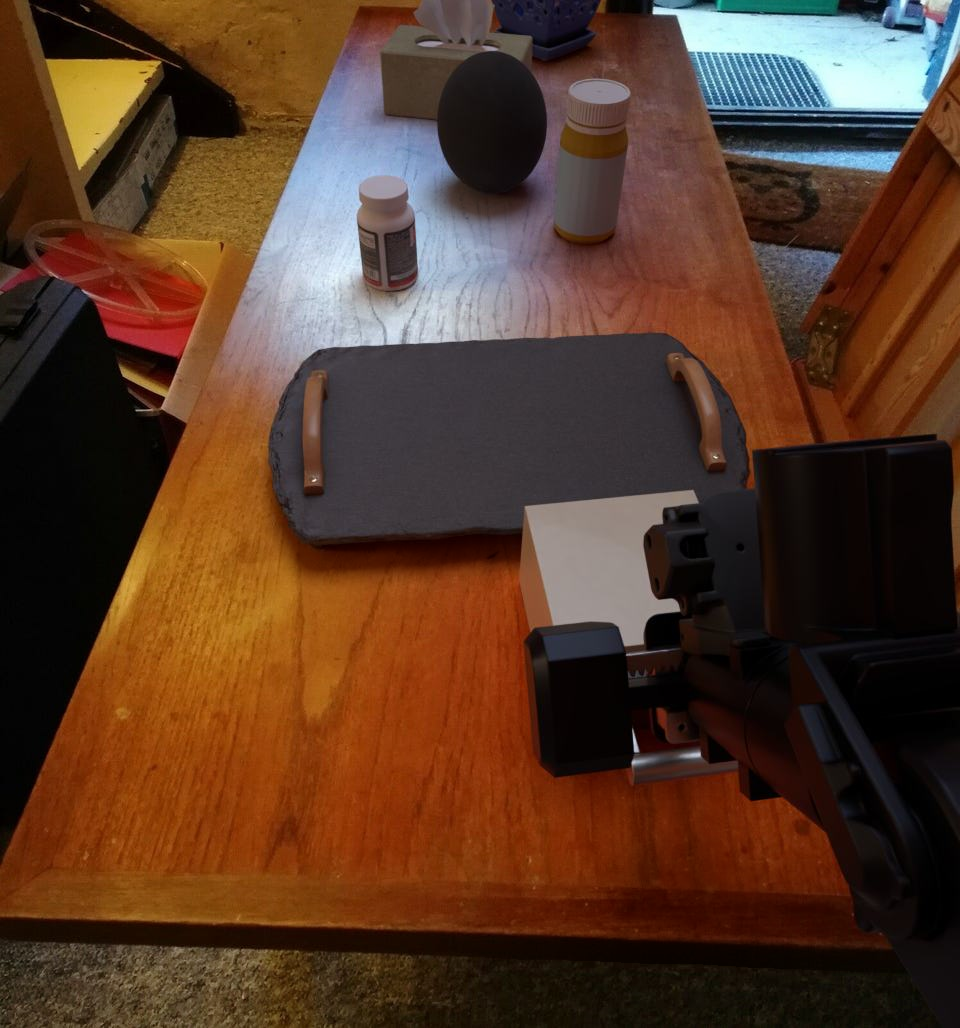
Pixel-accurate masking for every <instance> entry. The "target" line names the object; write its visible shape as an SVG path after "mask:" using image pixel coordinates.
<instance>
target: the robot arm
mask: <svg viewBox="0 0 960 1028" xmlns="http://www.w3.org/2000/svg"><path fill="white" fill-rule="evenodd" d="M751 456H752V469H753V470H752V471H753V485H754V487H753V488H746V489H741V490H731V491H721V492H715V493H712V494H709V495H708V496H706V497H705V498H704V499H703V500H702V501H701V502H700V503H696V504H686V505H680V506H673V507H665V508H664V509H663V512H662V520H663V524H657V525H652V526H651V527H650V528H649V530H648V531H647V532H646V533H645V534H644V540H643V547H644V553H645V558H646V564H647V569H648V575H649V580H650V586H651V590H652V593H653V595H654V596H655V597H656V598H657V599H658V600H663V599H674V600H675V601H677V602H678V604H679V608H680V611H679V612H670V613H661V614H655V615H653V616H651V617H650V618H649V619H648V620H647V622H646V625H645V628H644V633H643V639H644V651H640V652H631V653H626V650H625V647H624V643H623V640H622V637H621V633H620V630H619V627H618V626H617V625H615V624H614V623H612V622H593V621H590V622H581V623H572V624H563V625H554V626H545V627H536V628H534V629H533V630H532V631H531V633H530V632H529V633H528V635H527V636H526V637H525V638H524V640H523V642H522V643H523V653H524V662H525V663H524V666H525V676H526V687H527V700H528V710H529V720H530V721H529V722H530V731H531V732H530V734H531V743H532V744H531V745H532V752H533V755H534V757H535V759H536V761H537V763H538V765H539V766H540V767H541V768H542V769H543V770H545V771H546V772H547V773H548V774H549V775H550V776H551V777H552V778H555V779H557V778H565V777H571V776H572V777H573V776H579V775H589V774H594V773H602V772H611V771H617V770H618V771H619V770H626V768H630V767H631V764H632V761H633V758H634V754H635V753H634V741H633V729H632V717H631V711H633V710H642V709H649V713H650V725H651V732H652V733H653V736H654V737H655V738H656V739H657V740H658V741H660V742H662V743H665V744H666V743H667V744H671V745H679V744H687V743H694V742H695V743H696V742H699V746H700V752H701V757H702V758H703V759H704V760H706V761H707V762H708V763H709V764H714V763H722V762H729V761H737V760H738V772H737V773H738V784H739V785H738V786H739V792H740V793H741V794H742V795H743V796H744V798H746V799H747V800H748V801H750V802H757V801H766V800H772V799H778V798H779V799H780V798H783V799H784V800H785V801H786V802H788V804H790V805H791V806H792V807H794V808H795V809H796V810H798V811H799V812H800V813H801V814H802V815H803V816H805V817H806V818H807V819H808V820H809V821H811V822H812V823H813V824H814V825H816V826H817V827H818V828H819V829H820V830H822V831H823V832H824V833H825V834H826V836H827V840H828V841H829V844H830V847H831V849H832V852H833V854H834V857H835V860H836V863H837V864H838V867H839V870H840V872H841V875H842V877H843V878H844V880H845V882H846V884H847V885H848V889H849V894H850V897H851V899H852V907H853V908H852V909H853V910H852V911H853V918H854V921H855V923H856V926H857V927H858V929H859V930H860V931H861V932H862V933H865V934H873V933H881V934H882V935H883V936H885V938H886V940H887V941H888V944H889V945H890V946H891V948H892V949H893V951H894V953H895V954H896V956H897V957H898V959H899V961H900V962H901V964H902V965H903V967H904V969H905V970H906V972H907V974H908V975H909V977H910V978H911V979H912V980H911V981H912V982H913V983H914V985H915V987H917V990H918V991H919V993H920V994H921V996H922V998H923V999H924V1001H925V1003H926V1005H927V1006H928V1008H929V1009H930V1011H931V1012H932V1015H934V1017H935V1019H936V1020H937V1022H938V1023H939V1025H940V1026H941V1028H960V612H959V611H958V607H957V591H956V575H955V573H956V572H955V558H954V557H955V556H954V541H953V525H952V523H953V522H952V521H953V518H952V515H953V514H952V512H953V504H954V494H955V476H954V462H953V461H954V459H953V450H952V447H951V446H950V444H949V442H947V439H938V433H928V434H926V433H925V434H913V435H901V436H890V437H876V438H864V439H853V440H852V439H851V440H840V441H839V440H838V441H829V442H818V443H808V444H797V445H795V444H794V445H786V446H776V447H775V446H774V447H766V448H756V449H751ZM645 669H646V676H643V675H644V672H645ZM636 670H637V671H638V673H639V675H641V677H635V674H636ZM628 671H629V674H630V676H632V677H633V678H628Z"/></svg>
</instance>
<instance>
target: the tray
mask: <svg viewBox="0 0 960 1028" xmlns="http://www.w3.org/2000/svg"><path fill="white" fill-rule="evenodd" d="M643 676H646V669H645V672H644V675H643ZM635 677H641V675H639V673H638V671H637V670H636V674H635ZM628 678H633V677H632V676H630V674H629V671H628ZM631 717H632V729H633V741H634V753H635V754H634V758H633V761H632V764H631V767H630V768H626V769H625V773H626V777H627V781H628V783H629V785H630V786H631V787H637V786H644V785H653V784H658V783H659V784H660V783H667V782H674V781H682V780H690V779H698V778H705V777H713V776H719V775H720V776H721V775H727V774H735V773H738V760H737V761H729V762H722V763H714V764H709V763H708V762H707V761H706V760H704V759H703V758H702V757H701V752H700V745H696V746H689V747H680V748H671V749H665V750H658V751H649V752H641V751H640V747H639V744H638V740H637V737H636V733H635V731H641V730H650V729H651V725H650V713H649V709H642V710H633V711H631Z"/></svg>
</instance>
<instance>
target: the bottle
mask: <svg viewBox="0 0 960 1028" xmlns="http://www.w3.org/2000/svg"><path fill="white" fill-rule="evenodd" d="M631 95H632V94H631V90H630V88H629V87H628V86H626V84H624V83H621V82H619V81H616V80H611V79H607V78H587V79H580V80H578V81H575V82H574V83H572V84H571V85H570V86H569V88H568V91H567V102H566V117H565V124H564V126H563V128H562V130H561V132H560V138H559V147H558V158H557V159H558V160H557V171H556V172H557V173H556V182H555V196H554V208H553V227H554V229H555V230H556V232H557V233H558V234H559V236H560V237H562V238H563V239H565V240H567V241H569V242H571V243H576V244H580V245H593V244H599V243H601V242H603V241H605V240H607V239H608V238H609V237H611V236H612V235H613V234H614V233H615V232H616V228H617V224H618V220H619V219H618V217H619V212H620V205H621V197H622V190H623V183H624V175H625V170H626V163H627V155H628V148H629V136H628V132H627V130H628V129H627V122H628V116H629V110H630V104H631Z"/></svg>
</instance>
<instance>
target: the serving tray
mask: <svg viewBox="0 0 960 1028" xmlns="http://www.w3.org/2000/svg"><path fill="white" fill-rule="evenodd" d="M267 442H268V459H267V463H268V464H269V468H270V471H271V474H272V477H271V478H272V482H271V483H272V490H273V493H274V496H275V500H276V502H277V503H278V504H279V506H280V508H282V509H281V510H282V515H283V516H284V517H285V519H286V520H287V524H288V527H289V528H290V530H291V531H292V533H293V534H294V535H295V536H296V538H298V540H299V541H300V542H301V543H303V544H306V545H309V546H310V547H311V548H313V549H316V550H320V549H323V548H325V547H326V546H327V545H328V546H329V545H340V544H341V545H342V544H354V543H355V544H356V543H361V544H362V543H373V542H375V543H376V542H395V541H414V540H415V541H416V540H418V541H419V540H424V541H433V540H442V539H447V538H454V537H463V536H470V535H477V534H478V535H479V534H481V535H499V536H500V535H501V536H511V535H518V534H519V535H523V522H524V508H525V506H532V505H542V504H552V503H563V502H573V501H584V500H594V499H604V498H615V497H625V496H635V495H646V494H656V493H667V492H677V491H687V490H694V492H695V495H696V497H697V499H698V502H699V503H700V502H701V501H702V500H703V499H704V498H705V497H706V496H708V495H709V494H712V493H715V492H721V491H731V490H741V489H747V484H748V481H749V479H750V475H751V469H750V461H751V459H750V454H749V451H748V447H747V432H746V429H745V426H744V423H743V422H742V420H741V418H740V415H739V413H738V410H737V408H736V406H735V404H734V401H733V399H732V397H731V395H730V394H729V393H728V391H727V390H726V388H725V387H724V386H723V384H722V382H721V381H720V380H719V379H718V378H717V376H716V375H715V374H714V373H713V372H712V371H711V370H710V369H709V368H708V366H707V365H706V364H705V363H704V362H703V361H702V360H701V359H700V358H699V357H698V356H697V355H695V354H694V353H693V352H692V351H690V350H689V349H688V348H687V346H685V344H684V343H683V342H681V341H680V340H679V339H677V338H676V337H674V336H672V335H671V334H668V333H664V332H652V331H651V332H650V331H649V332H640V333H639V332H637V333H627V332H626V333H625V332H624V333H623V332H622V333H610V334H589V335H568V336H567V335H566V336H556V337H519V338H507V339H505V338H504V339H501V338H500V339H499V338H498V339H497V338H496V339H495V338H494V339H483V340H479V339H471V340H461V341H442V342H422V343H421V342H420V343H396V344H381V345H355V346H333V347H326V348H320V349H317V350H316V351H314V352H313V353H312V354H311V355H309V356H308V357H307V358H305V359H304V360H303V361H302V363H301V365H300V366H299V367H298V369H297V370H296V371H295V372H294V374H293V377H292V379H290V381H289V382H288V383H287V385H286V387H285V389H284V391H283V392H282V394H281V396H280V398H279V401H278V407H277V410H276V413H275V415H274V418H273V420H272V424H271V426H270V429H269V435H268V441H267Z"/></svg>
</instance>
